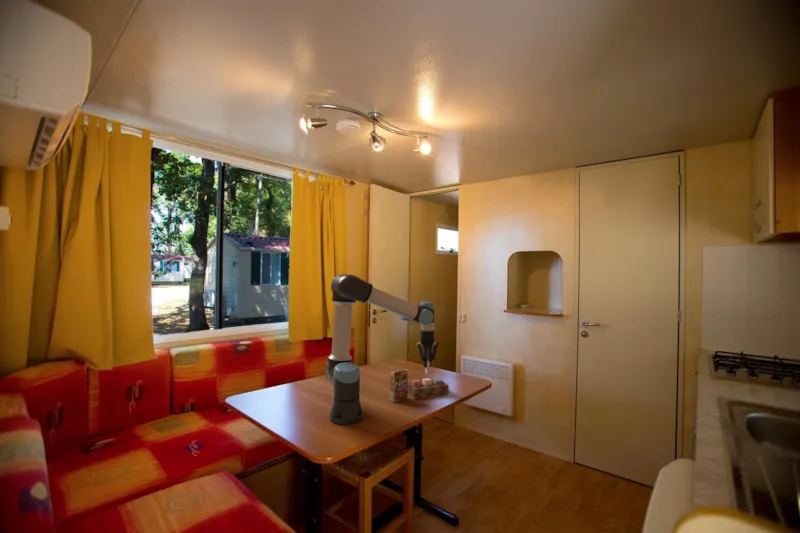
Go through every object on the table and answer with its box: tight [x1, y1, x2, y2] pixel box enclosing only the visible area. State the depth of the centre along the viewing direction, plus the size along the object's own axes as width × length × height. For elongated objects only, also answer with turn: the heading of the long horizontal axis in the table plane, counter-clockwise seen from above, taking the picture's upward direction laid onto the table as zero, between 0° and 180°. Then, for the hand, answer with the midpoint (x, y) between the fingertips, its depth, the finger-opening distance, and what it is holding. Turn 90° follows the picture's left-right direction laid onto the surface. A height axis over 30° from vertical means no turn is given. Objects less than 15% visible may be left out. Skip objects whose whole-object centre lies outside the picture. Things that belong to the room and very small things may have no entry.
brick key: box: [410, 378, 422, 387], centre depth 190 cm, size 4×4×4 cm
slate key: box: [433, 378, 444, 384], centre depth 195 cm, size 4×4×4 cm
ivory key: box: [421, 377, 432, 386], centre depth 192 cm, size 4×4×4 cm
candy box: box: [388, 368, 409, 403], centre depth 182 cm, size 9×4×15 cm, turn 123°
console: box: [408, 378, 449, 400], centre depth 192 cm, size 20×12×5 cm, turn 111°
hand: (427, 373), depth 192 cm, fingers closed
